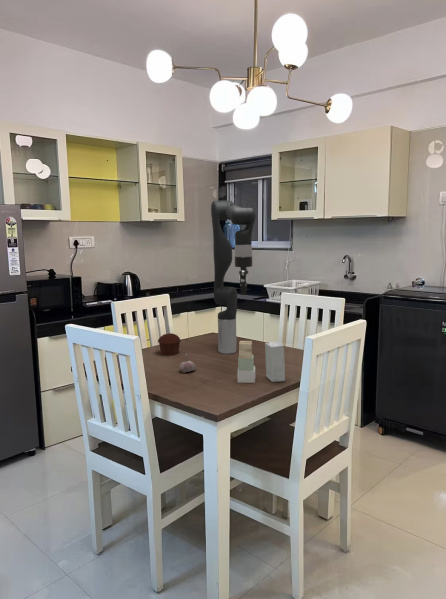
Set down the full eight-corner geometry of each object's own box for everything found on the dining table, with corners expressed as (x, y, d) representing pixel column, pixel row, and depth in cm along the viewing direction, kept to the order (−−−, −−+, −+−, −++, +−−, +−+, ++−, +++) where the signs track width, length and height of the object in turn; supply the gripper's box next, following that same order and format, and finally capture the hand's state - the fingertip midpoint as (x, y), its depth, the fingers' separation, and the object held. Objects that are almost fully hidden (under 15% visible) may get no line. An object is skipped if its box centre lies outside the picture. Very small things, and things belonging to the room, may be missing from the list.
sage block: (239, 366, 189) (239, 354, 189) (253, 366, 189) (253, 354, 188) (238, 370, 183) (238, 358, 183) (253, 370, 183) (253, 358, 182)
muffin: (182, 350, 235) (181, 331, 234) (180, 356, 224) (180, 336, 223) (159, 350, 235) (158, 332, 233) (156, 356, 224) (156, 337, 222)
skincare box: (285, 381, 184) (285, 345, 182) (271, 382, 183) (271, 346, 180) (278, 375, 192) (278, 340, 190) (264, 376, 191) (264, 341, 188)
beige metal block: (239, 355, 188) (239, 340, 187) (251, 355, 187) (251, 341, 186) (239, 358, 183) (239, 343, 182) (251, 358, 182) (251, 344, 181)
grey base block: (238, 377, 190) (238, 365, 190) (255, 377, 190) (255, 366, 189) (237, 382, 183) (237, 371, 183) (254, 383, 183) (254, 371, 182)
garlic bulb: (180, 374, 195) (179, 356, 194) (178, 369, 202) (177, 352, 201) (197, 373, 197) (196, 355, 196) (195, 368, 204) (194, 351, 203)
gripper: (235, 254, 200) (236, 291, 202) (233, 256, 186) (234, 295, 188) (252, 254, 199) (252, 291, 202) (251, 256, 185) (252, 295, 188)
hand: (243, 293), depth 195 cm, fingers open, 8 cm apart
